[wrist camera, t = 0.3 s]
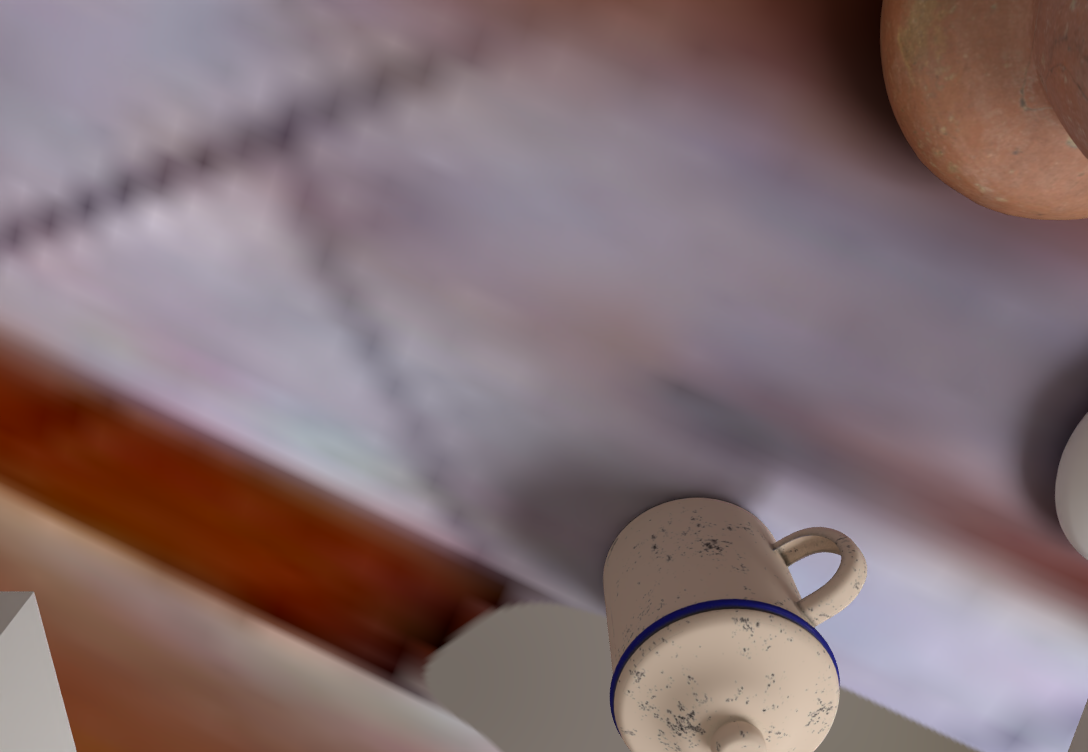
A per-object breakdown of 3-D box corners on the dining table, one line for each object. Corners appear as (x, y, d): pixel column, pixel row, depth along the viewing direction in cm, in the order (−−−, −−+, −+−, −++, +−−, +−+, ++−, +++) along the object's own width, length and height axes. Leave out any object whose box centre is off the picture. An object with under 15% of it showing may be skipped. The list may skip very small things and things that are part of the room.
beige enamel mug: (669, 676, 45) (709, 882, 35) (559, 559, 43) (565, 744, 32) (872, 550, 42) (984, 733, 32) (767, 417, 40) (851, 567, 29)
